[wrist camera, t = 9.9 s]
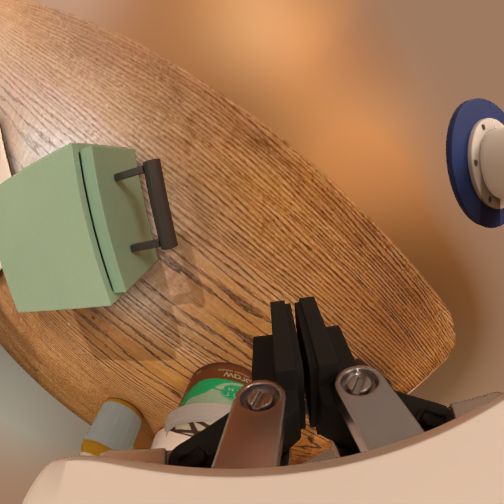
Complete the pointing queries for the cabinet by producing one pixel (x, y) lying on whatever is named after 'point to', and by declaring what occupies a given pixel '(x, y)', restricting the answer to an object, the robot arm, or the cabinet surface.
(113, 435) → the bottle
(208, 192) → the cabinet surface
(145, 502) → the robot arm
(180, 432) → the food container
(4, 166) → the plate
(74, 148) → the green drawer box
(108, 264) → the green cabinet drawer
